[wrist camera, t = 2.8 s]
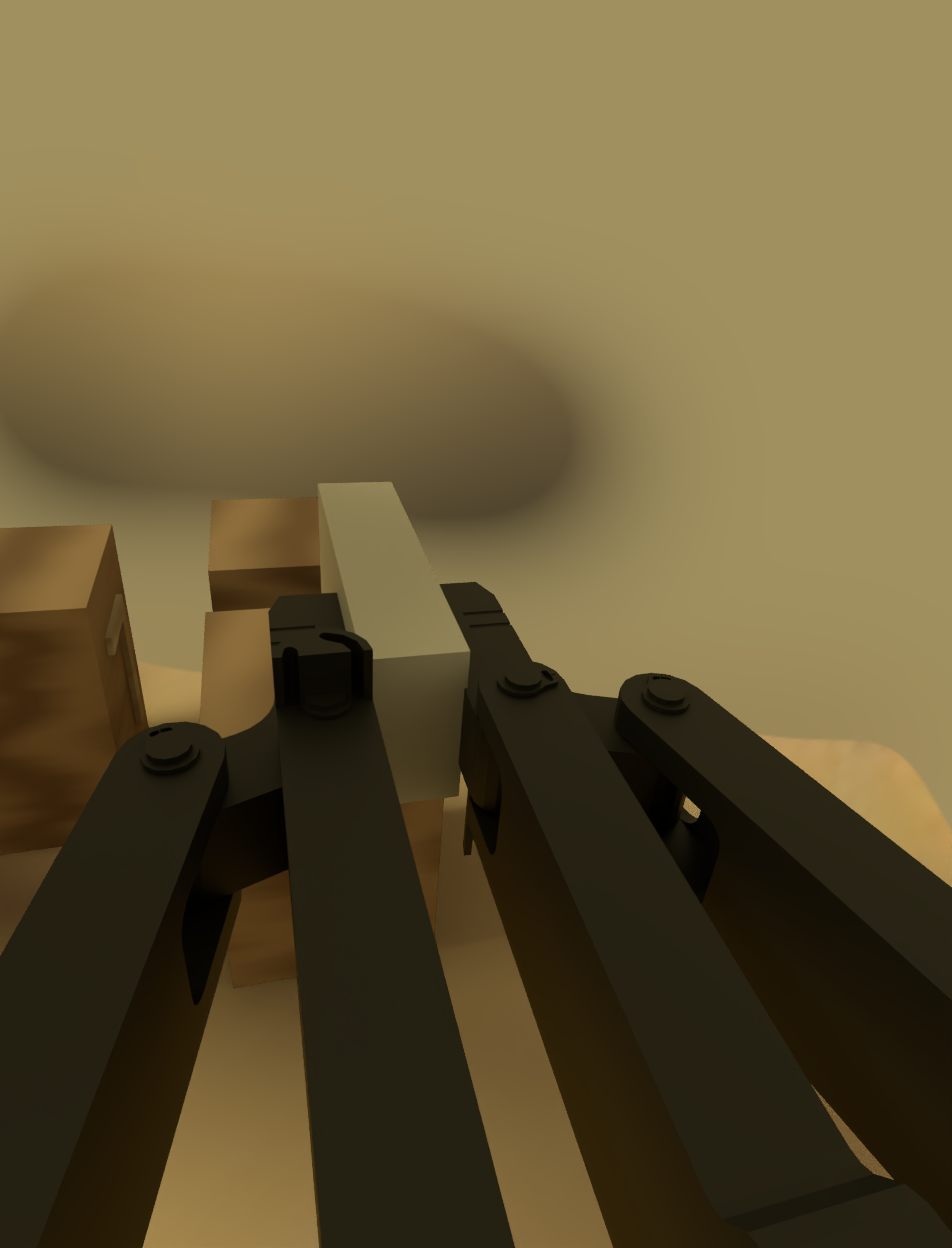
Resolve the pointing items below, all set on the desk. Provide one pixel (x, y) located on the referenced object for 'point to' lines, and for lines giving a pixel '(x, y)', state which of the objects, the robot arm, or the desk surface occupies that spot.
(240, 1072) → the desk surface
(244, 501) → the block one
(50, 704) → the block seven
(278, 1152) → the desk surface
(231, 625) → the plain block
